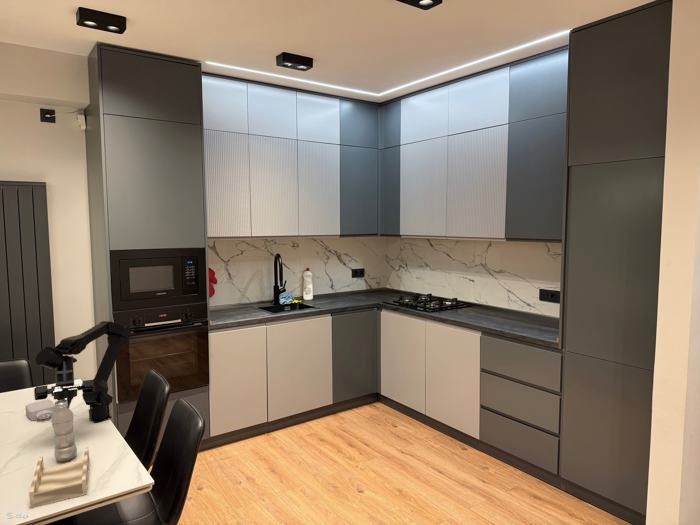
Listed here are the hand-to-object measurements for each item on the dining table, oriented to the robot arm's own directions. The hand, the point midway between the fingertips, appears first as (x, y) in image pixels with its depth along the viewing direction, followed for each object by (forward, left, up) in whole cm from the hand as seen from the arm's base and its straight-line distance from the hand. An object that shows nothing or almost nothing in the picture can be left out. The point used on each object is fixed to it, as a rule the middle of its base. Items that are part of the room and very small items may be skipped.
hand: (66, 412), depth 174 cm
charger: (-4, -38, -13) cm, 41 cm away
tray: (+10, +22, -13) cm, 28 cm away
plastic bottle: (+4, +8, -13) cm, 16 cm away
